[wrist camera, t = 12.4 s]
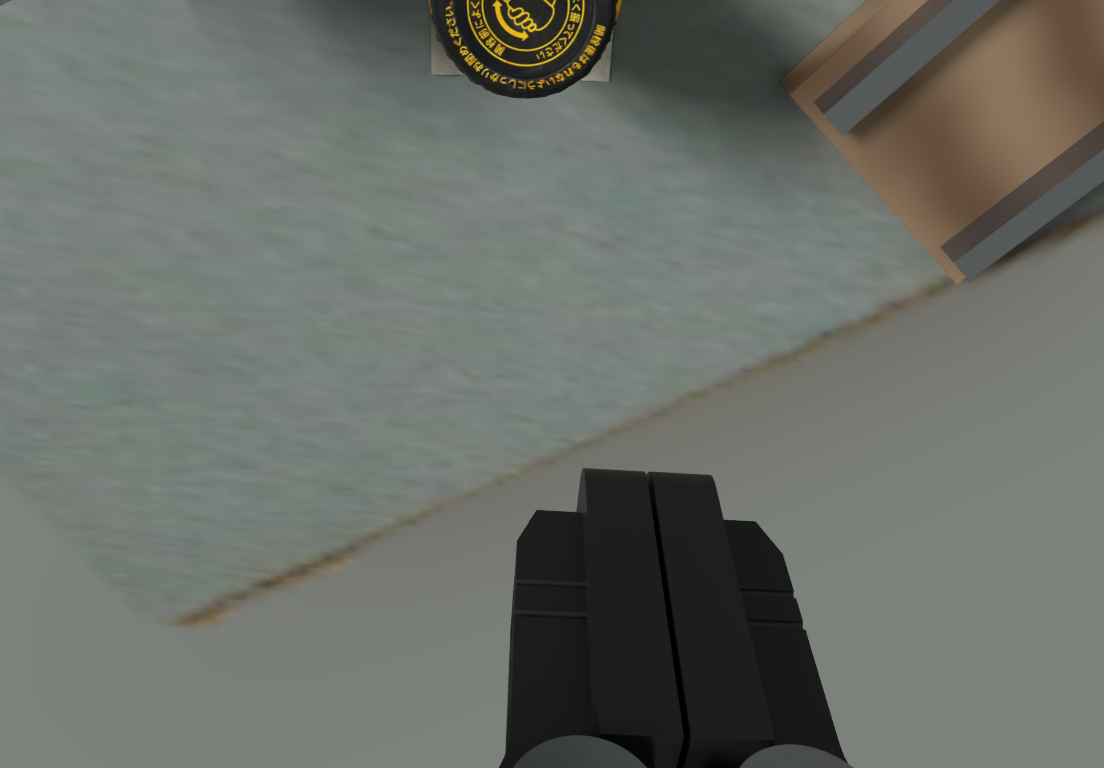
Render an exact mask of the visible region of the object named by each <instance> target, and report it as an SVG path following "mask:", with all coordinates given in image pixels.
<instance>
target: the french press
mask: <svg viewBox="0 0 1104 768" xmlns="http://www.w3.org/2000/svg"><path fill="white" fill-rule="evenodd" d="M9 1H11V0H0V6H1V5H3V4H5V3H7V2H9Z"/></svg>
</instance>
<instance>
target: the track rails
mask: <svg viewBox="0 0 1104 768" xmlns="http://www.w3.org/2000/svg"><path fill="white" fill-rule="evenodd" d="M998 1H1000V0H928V1H926V2H925V3H924V4H923V5H922V6H921V7H920V8H919V9H918V10H916V11H915V12H914V13H913V14H912V15H911V16H910V17H909V18H907V19H906V20H905V21H904V22H903V23H902V24H901V25H900V26H898V27H897V28H896V29H895V30H894V31H893V32H892V33H891V34H889V35H888V36H887V37H886V38H885V39H884V40H883V41H882V42H881V43H879V44H878V45H877V46H876V47H875V48H874V49H873V50H872V51H870V52H869V53H868V54H867V55H866V56H865V57H864V58H863V59H861V60H860V61H859V62H858V63H857V64H856V65H855V66H854V67H853V68H851V69H850V70H849V71H848V72H847V73H846V74H845V75H844V76H842V77H841V78H840V79H839V80H838V81H837V82H836V83H835V84H833V85H832V86H831V87H830V88H829V89H828V90H827V91H826V92H824V93H823V94H822V95H821V96H820V97H819V98H818V99H817V100H816V101H814V103H815V104H816V106H817V107H818V108H819V109H820V111H821V112H822V113H823V114H824V116H825V117H826V118H827V119H828V120H829V121H830V122H831V124H832V125H833V126H834V127H835V128H836V129H837V130H838V132H839V133H840V134H841V135H842V136H843V135H844V134H845V133H846V132H848V131H849V130H850V129H851V128H852V127H853V126H855V125H856V124H857V123H858V122H859V121H860V120H862V119H863V118H864V117H865V116H866V115H867V114H869V113H870V112H871V111H872V110H873V109H874V108H875V107H877V106H878V105H879V104H880V103H881V102H882V101H884V100H885V99H886V98H887V97H888V96H889V95H891V94H892V93H893V92H894V91H895V90H896V89H898V88H899V87H900V86H901V85H902V84H903V83H904V82H906V81H907V80H908V79H909V78H910V77H911V76H913V75H914V74H915V73H916V72H917V71H918V70H920V69H921V68H922V67H923V66H924V65H925V64H927V63H928V62H929V61H930V60H931V59H932V58H933V57H935V56H936V55H937V54H938V53H939V52H940V51H942V50H943V49H944V48H945V47H946V46H947V45H949V44H950V43H951V42H952V41H953V40H954V39H956V38H957V37H958V36H959V35H960V34H961V33H962V32H964V31H965V30H966V29H967V28H968V27H969V26H971V25H972V24H973V23H974V22H975V21H976V20H978V19H979V18H980V17H981V16H982V15H983V14H985V13H986V12H987V11H988V10H989V9H990V8H991V7H993V6H994V5H995V4H996V3H997V2H998ZM1103 181H1104V121H1103V122H1102V123H1101V124H1099V125H1098V126H1097V127H1095V128H1094V129H1093V130H1091V131H1090V132H1089V133H1088V134H1086V135H1085V136H1084V137H1082V138H1081V139H1080V140H1078V141H1077V142H1076V143H1075V144H1073V145H1072V146H1071V147H1069V148H1068V149H1067V150H1065V151H1064V152H1063V153H1062V154H1060V155H1059V156H1058V157H1056V158H1055V159H1054V160H1052V161H1051V162H1050V163H1049V164H1047V165H1046V166H1045V167H1043V168H1042V169H1041V170H1039V171H1038V172H1037V173H1035V174H1034V175H1033V176H1032V177H1030V178H1029V179H1028V180H1026V181H1025V182H1024V183H1022V184H1021V185H1020V186H1019V187H1017V188H1016V189H1015V190H1013V191H1012V192H1011V193H1009V194H1008V195H1007V196H1006V197H1004V198H1003V199H1002V200H1000V201H999V202H998V203H996V204H995V205H994V206H993V207H991V208H990V209H989V210H987V211H986V212H985V213H983V214H982V215H981V216H979V217H978V218H977V219H976V220H974V221H973V222H972V223H970V224H969V225H968V226H966V227H965V228H964V229H963V230H961V231H960V232H959V233H957V234H956V235H955V236H953V237H952V238H951V239H950V240H948V241H947V242H946V243H944V244H943V245H942V246H940V247H941V248H942V250H943V251H944V252H945V253H946V254H947V256H948V257H949V258H950V259H951V260H952V262H953V263H954V264H955V265H956V266H957V267H958V269H959V270H960V271H961V272H962V273H963V274H964V275H965V277H966V278H967V279H968V280H969V281H970V280H971V279H972V278H974V277H975V276H976V275H978V274H979V273H980V272H982V271H983V270H984V269H986V268H987V267H988V266H990V265H991V264H992V263H994V262H995V261H997V260H998V259H999V258H1001V257H1002V256H1003V255H1005V254H1006V253H1007V252H1009V251H1010V250H1011V249H1013V248H1014V247H1015V246H1017V245H1018V244H1019V243H1021V242H1022V241H1024V240H1025V239H1026V238H1028V237H1029V236H1030V235H1032V234H1033V233H1034V232H1036V231H1037V230H1038V229H1040V228H1041V227H1042V226H1044V225H1045V224H1046V223H1048V222H1049V221H1051V220H1052V219H1053V218H1055V217H1056V216H1057V215H1059V214H1060V213H1061V212H1063V211H1064V210H1065V209H1067V208H1068V207H1069V206H1071V205H1072V204H1073V203H1075V202H1076V201H1078V200H1079V199H1080V198H1082V197H1083V196H1084V195H1086V194H1087V193H1088V192H1090V191H1091V190H1092V189H1094V188H1095V187H1096V186H1098V185H1099V184H1100V183H1102V182H1103Z"/></svg>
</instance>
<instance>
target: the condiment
mask: <svg viewBox="0 0 1104 768" xmlns="http://www.w3.org/2000/svg"><path fill="white" fill-rule="evenodd" d="M428 2H429V6H430V32H431V75H467V77H468V78H469V80H470V81H472V82H474V83H475V84H478V85H481V86H482V87H484V89H485V90H489V91H491V92H492V93H495V94H498V95H502V96H507V97H512V98H527V99H528V98H540V97H546V96H548V95H551V94H555V93H559V92H561V91H563V90H565V89H566V88H568V87H569V86H571V85H573V84H574V83H576V82H577V81H579V80H583V81H604V82H609V76H610V64H611V51H612V39H613V29H614V28H613V27H614V26H615V25H616V21H617V18H618V15H619V13H620V10H621V5H622V2H623V0H428Z"/></svg>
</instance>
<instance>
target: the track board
mask: <svg viewBox="0 0 1104 768" xmlns="http://www.w3.org/2000/svg"><path fill="white" fill-rule="evenodd" d="M926 1H928V0H867V1H866V2H865V3H864V4H863V5H861V6H860V7H859V8H858V9H857V10H856V11H855V12H854V13H853V14H852V15H851V16H850V17H848V18H847V19H846V20H845V21H844V22H843V23H842V24H841V25H840V26H839V27H838V28H836V29H835V30H834V31H833V32H832V33H831V34H830V35H829V36H828V37H827V38H826V39H825V40H823V41H822V42H821V43H820V44H819V45H818V46H817V47H816V48H815V49H814V50H813V51H811V52H810V53H809V54H808V55H807V56H806V57H805V58H804V59H803V60H802V61H801V62H799V63H798V64H797V65H796V66H795V67H794V68H793V69H792V70H791V71H790V72H789V73H788V74H786V75H785V76H784V77H783V78H782V79H781V80H780V81H779V82H780V83H781V85H782V86H783V87H784V89H785V90H786V91H787V93H788V94H789V95H790V96H791V98H792V99H793V100H794V101H795V102H796V103H797V104H798V105H799V107H800V108H801V109H802V110H803V111H804V112H805V113H806V115H807V116H808V117H809V118H810V119H811V120H812V121H813V122H814V124H815V125H816V126H817V127H818V128H819V129H820V130H821V131H822V133H823V134H824V135H825V136H826V137H827V138H828V139H829V140H830V142H831V143H832V144H833V145H834V146H835V147H836V148H837V149H838V151H839V152H840V153H841V154H842V155H843V156H844V157H845V159H846V160H847V161H848V162H849V163H850V164H851V165H852V166H853V168H854V169H855V170H856V171H857V172H858V173H859V174H860V175H861V177H862V178H863V179H864V180H865V181H866V182H867V183H868V184H869V186H870V187H871V188H872V189H873V190H874V191H875V192H876V194H877V195H878V196H879V197H880V198H881V199H882V200H883V201H884V203H885V204H886V205H887V206H888V207H889V208H890V209H891V210H892V212H893V213H894V214H895V215H896V216H897V217H898V218H899V219H900V221H901V222H902V223H903V224H904V225H905V226H906V227H907V229H908V230H909V231H910V232H911V233H912V234H913V235H914V236H915V238H916V239H917V240H918V241H919V242H920V243H921V244H922V245H923V247H924V248H925V249H926V250H927V251H928V252H929V253H930V254H931V256H932V257H933V258H934V259H935V260H936V261H937V262H938V263H939V265H940V266H941V267H942V268H943V269H944V270H945V271H946V273H947V274H948V275H949V276H950V277H951V278H952V279H953V280H954V282H955V283H956V284H958V283H959V282H961V281H962V280H963V279H965V278H966V277H965V275H964V274H963V273H962V272H961V271H960V270H959V269H958V267H957V266H956V265H955V264H954V263H953V262H952V260H951V259H950V258H949V257H948V256H947V254H946V253H945V252H944V251H943V250H942V248H941V247H940V246H942V245H943V244H944V243H946V242H947V241H948V240H950V239H951V238H952V237H953V236H955V235H956V234H957V233H959V232H960V231H961V230H963V229H964V228H965V227H966V226H968V225H969V224H970V223H972V222H973V221H974V220H976V219H977V218H978V217H979V216H981V215H982V214H983V213H985V212H986V211H987V210H989V209H990V208H991V207H993V206H994V205H995V204H996V203H998V202H999V201H1000V200H1002V199H1003V198H1004V197H1006V196H1007V195H1008V194H1009V193H1011V192H1012V191H1013V190H1015V189H1016V188H1017V187H1019V186H1020V185H1021V184H1022V183H1024V182H1025V181H1026V180H1028V179H1029V178H1030V177H1032V176H1033V175H1034V174H1035V173H1037V172H1038V171H1039V170H1041V169H1042V168H1043V167H1045V166H1046V165H1047V164H1049V163H1050V162H1051V161H1052V160H1054V159H1055V158H1056V157H1058V156H1059V155H1060V154H1062V153H1063V152H1064V151H1065V150H1067V149H1068V148H1069V147H1071V146H1072V145H1073V144H1075V143H1076V142H1077V141H1078V140H1080V139H1081V138H1082V137H1084V136H1085V135H1086V134H1088V133H1089V132H1090V131H1091V130H1093V129H1094V128H1095V127H1097V126H1098V125H1099V124H1101V123H1102V122H1103V121H1104V0H1000V1H998V2H997V3H996V4H995V5H994V6H993V7H991V8H990V9H989V10H988V11H987V12H986V13H985V14H983V15H982V16H981V17H980V18H979V19H978V20H976V21H975V22H974V23H973V24H972V25H971V26H969V27H968V28H967V29H966V30H965V31H964V32H962V33H961V34H960V35H959V36H958V37H957V38H956V39H954V40H953V41H952V42H951V43H950V44H949V45H947V46H946V47H945V48H944V49H943V50H942V51H940V52H939V53H938V54H937V55H936V56H935V57H933V58H932V59H931V60H930V61H929V62H928V63H927V64H925V65H924V66H923V67H922V68H921V69H920V70H918V71H917V72H916V73H915V74H914V75H913V76H911V77H910V78H909V79H908V80H907V81H906V82H904V83H903V84H902V85H901V86H900V87H899V88H898V89H896V90H895V91H894V92H893V93H892V94H891V95H889V96H888V97H887V98H886V99H885V100H884V101H882V102H881V103H880V104H879V105H878V106H877V107H875V108H874V109H873V110H872V111H871V112H870V113H869V114H867V115H866V116H865V117H864V118H863V119H862V120H860V121H859V122H858V123H857V124H856V125H855V126H853V127H852V128H851V129H850V130H849V131H848V132H846V133H845V134H844V135H843V136H842V135H841V134H840V133H839V132H838V130H837V129H836V128H835V127H834V126H833V125H832V124H831V122H830V121H829V120H828V119H827V118H826V117H825V116H824V114H823V113H822V112H821V111H820V109H819V108H818V107H817V106H816V104H815V103H814V101H816V100H817V99H818V98H819V97H820V96H821V95H822V94H823V93H824V92H826V91H827V90H828V89H829V88H830V87H831V86H832V85H833V84H835V83H836V82H837V81H838V80H839V79H840V78H841V77H842V76H844V75H845V74H846V73H847V72H848V71H849V70H850V69H851V68H853V67H854V66H855V65H856V64H857V63H858V62H859V61H860V60H861V59H863V58H864V57H865V56H866V55H867V54H868V53H869V52H870V51H872V50H873V49H874V48H875V47H876V46H877V45H878V44H879V43H881V42H882V41H883V40H884V39H885V38H886V37H887V36H888V35H889V34H891V33H892V32H893V31H894V30H895V29H896V28H897V27H898V26H900V25H901V24H902V23H903V22H904V21H905V20H906V19H907V18H909V17H910V16H911V15H912V14H913V13H914V12H915V11H916V10H918V9H919V8H920V7H921V6H922V5H923V4H924V3H925V2H926Z"/></svg>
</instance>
